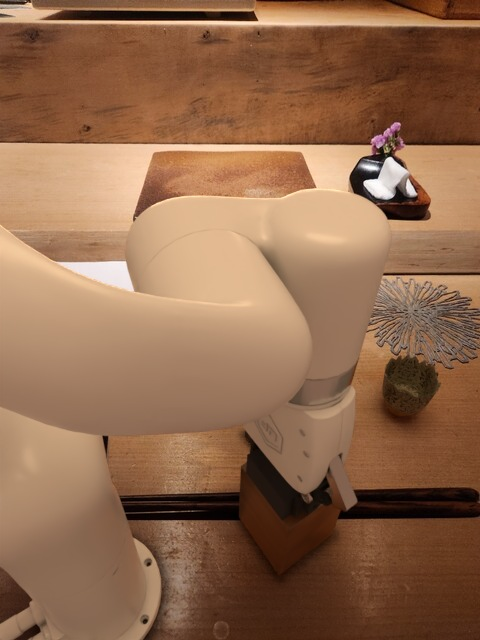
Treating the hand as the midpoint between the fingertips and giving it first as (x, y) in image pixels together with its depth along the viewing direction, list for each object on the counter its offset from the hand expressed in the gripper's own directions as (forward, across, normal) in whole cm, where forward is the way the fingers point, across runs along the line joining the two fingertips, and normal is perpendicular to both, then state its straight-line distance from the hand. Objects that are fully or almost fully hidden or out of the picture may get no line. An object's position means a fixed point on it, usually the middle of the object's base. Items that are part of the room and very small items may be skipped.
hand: (283, 478), depth 46 cm
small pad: (+1, 0, +2) cm, 2 cm away
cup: (+13, -4, +27) cm, 30 cm away
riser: (+13, 0, +2) cm, 13 cm away
